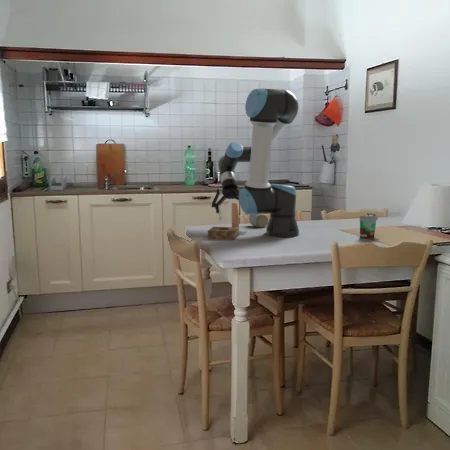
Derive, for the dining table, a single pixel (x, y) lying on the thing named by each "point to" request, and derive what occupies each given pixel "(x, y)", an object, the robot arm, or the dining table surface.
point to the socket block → (223, 233)
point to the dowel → (235, 214)
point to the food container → (368, 225)
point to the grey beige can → (258, 220)
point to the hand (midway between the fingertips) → (234, 217)
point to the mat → (242, 233)
